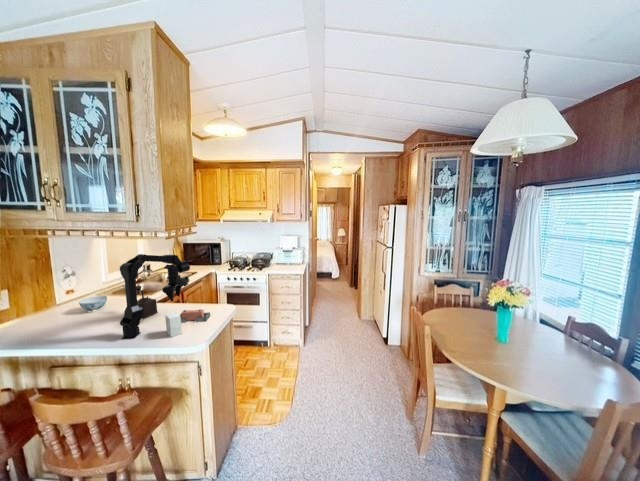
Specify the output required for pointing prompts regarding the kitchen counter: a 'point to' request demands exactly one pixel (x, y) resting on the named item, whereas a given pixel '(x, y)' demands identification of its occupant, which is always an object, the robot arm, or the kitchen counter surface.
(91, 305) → the chinaware
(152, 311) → the dark brown boxy piece
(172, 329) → the small box
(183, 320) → the shallow metal tray
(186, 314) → the link
